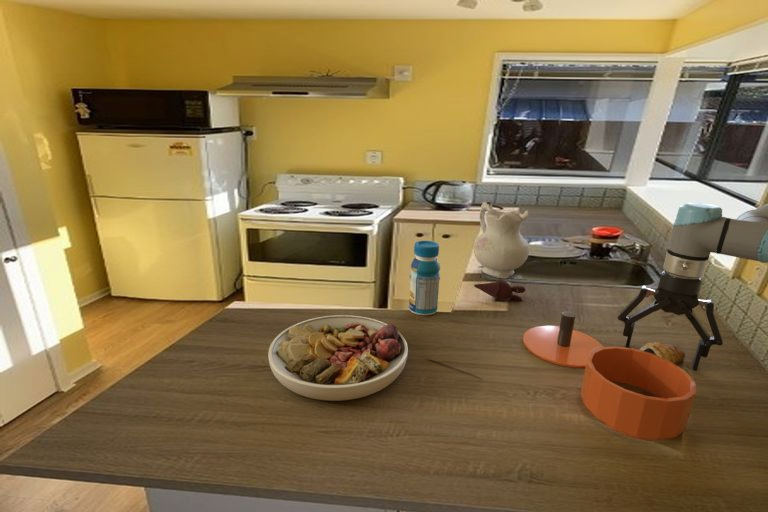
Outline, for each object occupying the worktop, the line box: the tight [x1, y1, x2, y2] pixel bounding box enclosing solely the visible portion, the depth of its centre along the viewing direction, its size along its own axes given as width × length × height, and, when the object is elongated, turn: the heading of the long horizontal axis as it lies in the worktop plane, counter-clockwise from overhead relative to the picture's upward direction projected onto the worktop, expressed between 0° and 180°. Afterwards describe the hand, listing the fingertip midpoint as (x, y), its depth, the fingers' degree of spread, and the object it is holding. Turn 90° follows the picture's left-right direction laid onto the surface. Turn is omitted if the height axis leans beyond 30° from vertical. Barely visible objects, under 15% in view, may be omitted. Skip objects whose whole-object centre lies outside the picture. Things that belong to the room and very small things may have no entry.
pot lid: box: [522, 311, 604, 369], centre depth 102 cm, size 19×19×9 cm
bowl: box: [267, 314, 409, 402], centre depth 93 cm, size 30×30×8 cm
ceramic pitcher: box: [473, 199, 531, 279], centre depth 151 cm, size 22×20×25 cm
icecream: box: [473, 278, 526, 302], centre depth 129 cm, size 7×7×15 cm
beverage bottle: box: [408, 240, 441, 316], centre depth 119 cm, size 8×8×20 cm
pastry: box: [639, 341, 686, 365], centre depth 99 cm, size 9×7×4 cm
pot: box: [579, 345, 697, 442], centre depth 81 cm, size 18×18×8 cm
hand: (659, 357), depth 100 cm, fingers open, 13 cm apart
